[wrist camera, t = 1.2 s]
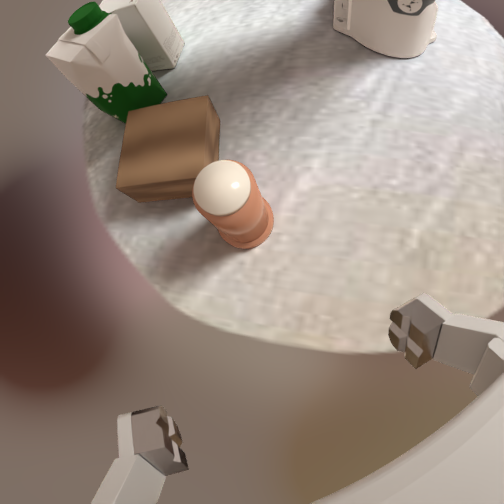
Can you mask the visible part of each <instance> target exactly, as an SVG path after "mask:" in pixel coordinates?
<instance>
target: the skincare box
mask: <svg viewBox="0 0 504 504" xmlns="http://www.w3.org/2000/svg"><path fill="white" fill-rule="evenodd" d="M99 7H100V9H101V10H102V11H105V12H107V13H112V14H117V16H118V18H119V20H120V23H121V25H122V28H123V30H124V32H125V34H126V35H127V37H128V38H129V40H130V41H131V43H132V44H133V45H134V47H135V48H136V50H137V51H138V53H139V54H140V56H141V57H142V59H143V60H144V61H145V63H146V64H147V66H148V67H149V69H150V70H151V71H156V70H163V69H172V68H175V66H176V64H177V61H178V59H179V57H180V54H181V52H182V49H183V47H184V44H185V43H184V41H183V39H182V38H181V36H180V34H179V32H178V30H177V28H176V27H175V25H174V23H173V21H172V20H171V18H170V16H169V14H168V13H167V11H166V9H165V7H164V5H163V4H162V2H161V0H103V1H102V2H101V4H100V5H99Z"/></svg>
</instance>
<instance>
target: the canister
mask: <svg viewBox="0 0 504 504" xmlns="http://www.w3.org/2000/svg"><path fill="white" fill-rule="evenodd" d="M192 198H193V202H194V205H195V207H196V208H197V210H198V211H199V212H200V213H201V214H202V215H203V216H204V217H205V218H206V219H208V220H209V221H210V222H211V223H212V224H213V225H214V226H216V227H217V228H218V231H219V233H220V235H221V236H222V238H223V239H224V240H225V241H226V242H227V243H229V244H230V245H232V246H234V247H236V248H241V249H250V248H254V247H256V246H258V245H260V244H262V243H263V242H264V241H265V240H266V239H267V238H268V237H269V235H270V234H271V231H272V229H273V224H274V217H273V213H272V210H271V207H270V205H269V204H268V202H267V201H266V200H265V199H264V198H263V197H262V196H261V194H260V191H259V189H258V186H257V184H256V181H255V179H254V176H253V174H252V172H251V171H250V170H249V169H248V168H247V167H246V166H245V165H243V164H242V163H240V162H237V161H233V160H220V161H216V162H213V163H211V164H209V165H207V166H206V167H205V168H203V169H202V170H201V172H200V173H199V174H198V176H197V178H196V180H195V182H194V185H193V189H192Z"/></svg>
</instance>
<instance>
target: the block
mask: <svg viewBox="0 0 504 504" xmlns="http://www.w3.org/2000/svg"><path fill="white" fill-rule="evenodd" d="M219 133H220V119H219V117H218V115H217V113H216V111H215V109H214V107H213V105H212V103H211V101H210V98H209V96H201V97H195V98H189V99H184V100H178V101H173V102H168V103H163V104H158V105H154V106H149V107H145V108H140V109H136V110H132V111H129V112H128V116H127V121H126V126H125V132H124V137H123V143H122V149H121V155H120V161H119V168H118V175H117V182H116V189H118V190H119V191H121V192H123V193H124V194H126V195H128V196H129V197H131V198H132V199H134V200H136V201H137V202H139V203H141V202H150V201H159V200H169V199H179V198H190V197H192V189H193V185H194V182H195V180H196V178H197V176H198V174H199V173H200V172H201V170H202V169H203V168H205V167H206V166H207V165H209V164H211V163H213V162H216V161H219Z"/></svg>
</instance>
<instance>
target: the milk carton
mask: <svg viewBox="0 0 504 504" xmlns="http://www.w3.org/2000/svg"><path fill="white" fill-rule="evenodd" d="M68 23H69V25H70V26H71V27H70V28H69V29H68V30H67V31H66V32H65V33H64V34H63V35H62V36H61V37H60V38H59V39H58V42H57V43H56V44H55V45H54V46H53V47H52V48H51V49H50V50H49V52H48V53H47V54H46V56H47V57H48V58H49V59H50V60H51V62H52V63H53V64H54V65H55V66H56V67H57V68H58V69H59V70H60V71H61V72H62V74H64V76H65V77H66V78H67V79H68V80H69V81H70V82H71V83H72V84H73V85H74V86H76V87H77V88H78V89H79V90H80V91H81V92H82V93H83V94H84V95H85V96H86V97H87V98H88V99H89V100H90V101H91V102H92V103H93V104H94V105H96V106H97V107H98V108H99V109H100V110H101V111H103V112H105V113H107V114H109V115H111V116H112V117H114V118H116V119H118V120H120V121H122V122H124V123H126V121H127V116H128V112H129V111H132V110H136V109H140V108H145V107H149V106H154V105H158V104H160V103H161V102H162V100H163V99H164V98H165V97H166V96H167V94H166V92H165V91H164V89H163V88H162V86H161V85H160V83H159V82H158V80H157V79H156V78H155V76H154V75H153V73H152V72H151V70H150V69H149V67H148V66H147V64H146V63H145V61H144V60H143V59H142V57H141V56H140V54H139V53H138V51H137V50H136V48H135V47H134V45H133V44H132V43H131V41H130V40H129V38H128V37H127V35H126V34H125V32H124V30H123V28H122V25H121V23H120V20H119V18H118V16H117V14H112V13H107V12H105V11H102V10H101V9H100V7H99V6H98V5H97V3H96V2H90V3H87V4H85V5H83V6H82V7H80V8H79V9H78V10H76V11H75V12H74V13H73V14H72V16H71V17H70V18H69V20H68Z"/></svg>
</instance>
